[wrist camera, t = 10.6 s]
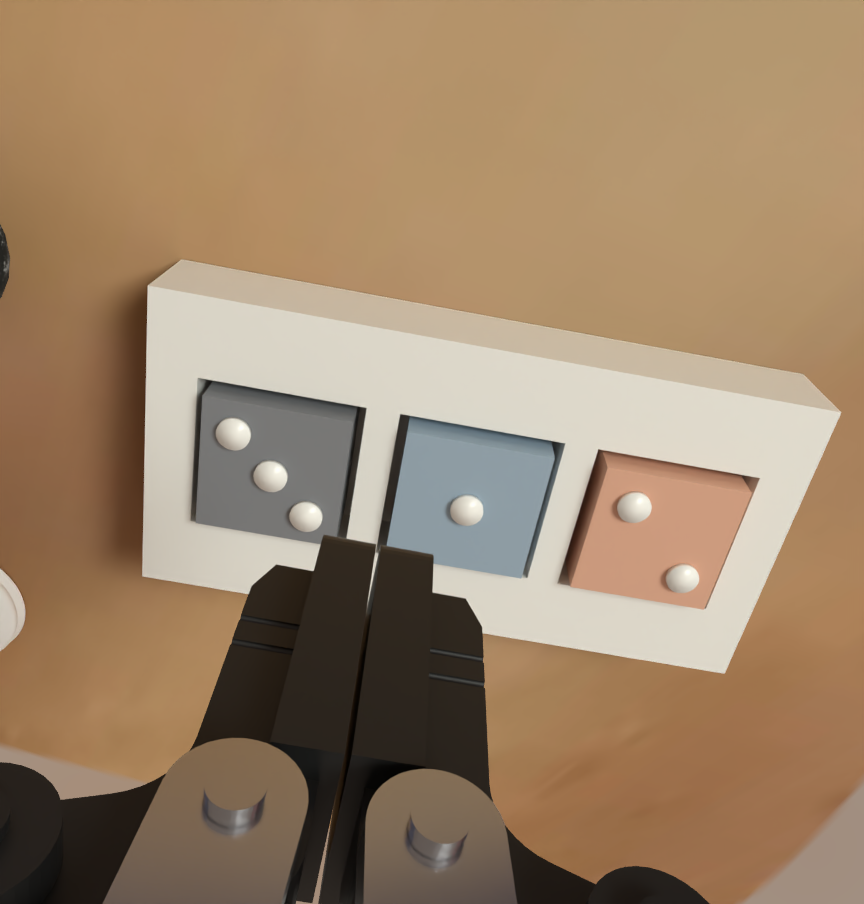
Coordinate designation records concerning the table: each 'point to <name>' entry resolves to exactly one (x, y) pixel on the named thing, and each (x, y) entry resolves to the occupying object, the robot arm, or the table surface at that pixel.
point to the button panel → (482, 406)
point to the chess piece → (10, 610)
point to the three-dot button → (274, 462)
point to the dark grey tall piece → (3, 262)
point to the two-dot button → (654, 529)
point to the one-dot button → (469, 495)
